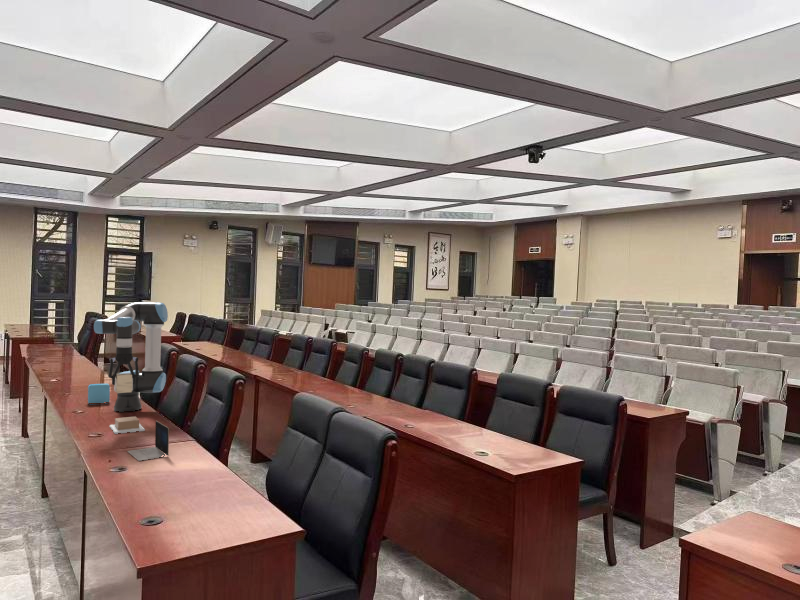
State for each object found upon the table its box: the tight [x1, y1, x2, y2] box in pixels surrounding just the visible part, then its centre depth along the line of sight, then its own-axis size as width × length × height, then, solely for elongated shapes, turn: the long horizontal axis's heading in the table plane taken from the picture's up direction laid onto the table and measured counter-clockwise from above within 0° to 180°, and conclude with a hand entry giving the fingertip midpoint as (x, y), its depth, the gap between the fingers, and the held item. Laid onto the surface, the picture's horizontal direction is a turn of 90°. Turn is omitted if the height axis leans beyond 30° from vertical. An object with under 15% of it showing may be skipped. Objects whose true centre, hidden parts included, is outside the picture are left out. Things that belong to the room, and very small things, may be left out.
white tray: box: [109, 415, 146, 435], centre depth 308 cm, size 18×14×5 cm
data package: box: [87, 383, 111, 404], centre depth 372 cm, size 12×4×12 cm, turn 119°
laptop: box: [127, 420, 170, 462], centre depth 262 cm, size 18×12×13 cm
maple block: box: [114, 373, 132, 394], centre depth 309 cm, size 7×7×9 cm
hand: (123, 390), depth 309 cm, fingers closed on maple block, 7 cm apart
